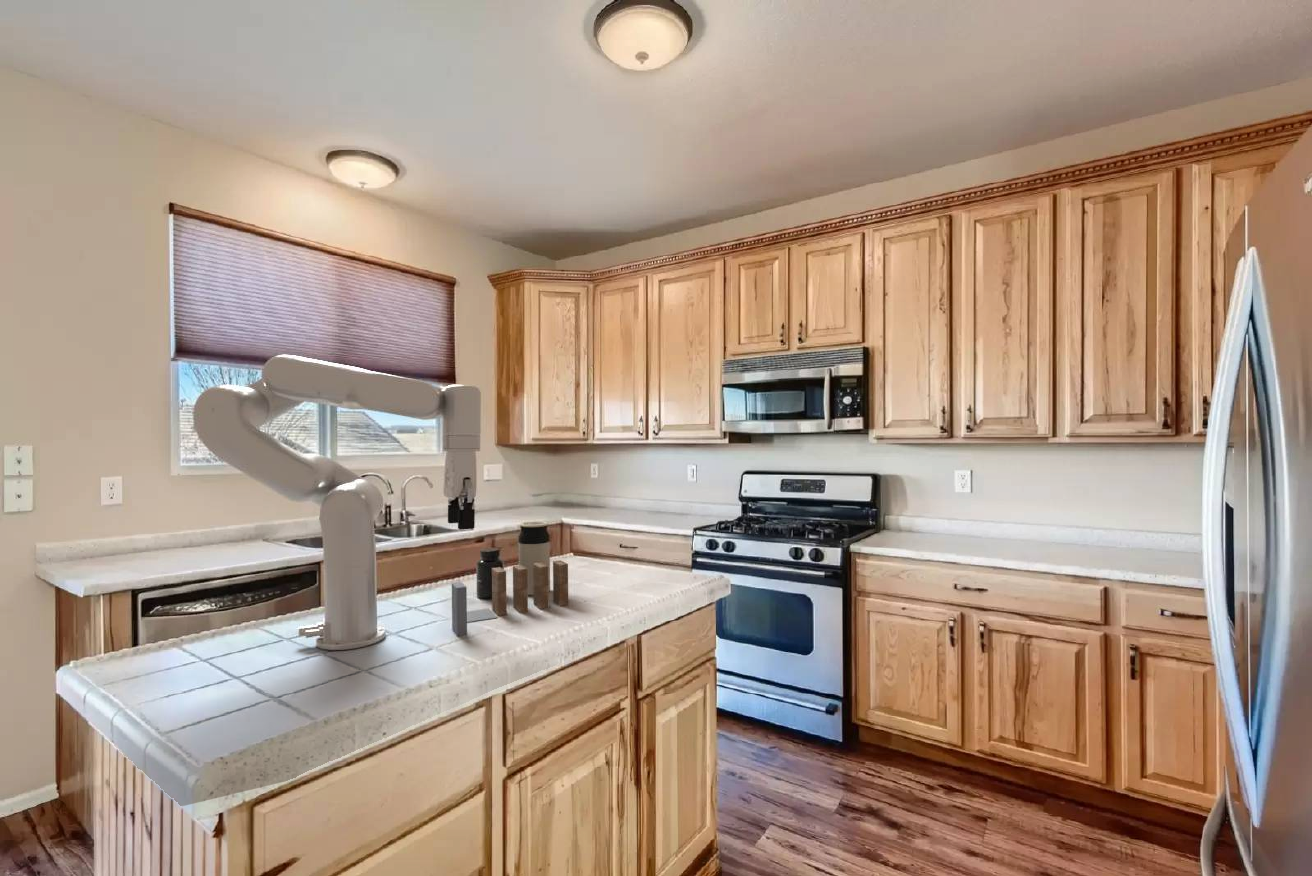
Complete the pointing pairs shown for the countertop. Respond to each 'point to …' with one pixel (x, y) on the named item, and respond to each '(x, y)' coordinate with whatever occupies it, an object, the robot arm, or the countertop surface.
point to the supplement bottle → (487, 571)
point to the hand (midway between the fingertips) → (460, 525)
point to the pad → (480, 615)
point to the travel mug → (534, 548)
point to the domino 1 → (459, 609)
